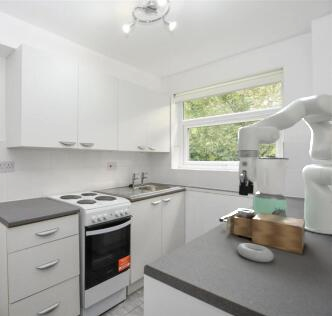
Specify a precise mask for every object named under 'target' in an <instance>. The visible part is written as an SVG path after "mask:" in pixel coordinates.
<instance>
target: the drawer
mask: <svg viewBox="0 0 332 316" xmlns="http://www.w3.org/2000/svg"><path fill="white" fill-rule="evenodd" d="M255 216H256V215H255ZM218 221H219V222H220V223H223V222H224V223H226V234H227V235H230V234H233V235H236V236H240V237H241V236H242V237H244V238H250V239H252V220H250V219H245V218H239V217H238V210H235V211H233V212H231V213H229V214H227V215H224V216H222V217H221V218H218Z"/></svg>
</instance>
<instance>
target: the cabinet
mask: <svg viewBox="0 0 332 316" xmlns="http://www.w3.org/2000/svg"><path fill="white" fill-rule="evenodd" d="M305 234H306V230H305V220H304V218H303V219H302V218H297V217H290V216H287V217H285V216H279V215H272V214H266V213H259V214H257V215H256V216H255V217H254V218H252V238H251V243H253V244H257V245H261V246H266V247H271V248H275V249H279V250H283V251H287V252H291V253H295V254H299V255H302V254H303V250H304V246H305V237H306V235H305Z"/></svg>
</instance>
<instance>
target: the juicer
mask: <svg viewBox="0 0 332 316" xmlns="http://www.w3.org/2000/svg"><path fill="white" fill-rule="evenodd" d="M289 159H290V158H288V157H280V156H279V157H278V156H275V155H270V156H269V155H266V156H261V157H258V159H256V168H257V180H256V181H255V183H256V186H257V192H255V193H254V194H253V196H252V210H253V211H255V215H257V214H259V213H266V214H272V215H279V216H285V217H288V215H287V214H288V211H287V209H288V201H287V198H286V196H285V195H284V194H282V192H283V188H284V183H285V178H286V174H287V171H288V166H289Z"/></svg>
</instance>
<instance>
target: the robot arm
mask: <svg viewBox="0 0 332 316" xmlns="http://www.w3.org/2000/svg"><path fill="white" fill-rule="evenodd" d="M302 120H303V121H304V122H305V124H307V126H308V127H309V129H310V131H311V139H310V145H309V146H310V147H309V158H310V159H311V160H312V161H315V162H322V163H312V164H308V165H306V166H304V168H303V169H302V179H303V184H304V185H303V186H304V202H303V203H304V206H303V209H304V210H303V220H305V231H308V232H312V233H318V234H323V235H332V189H331V188H330V187H329V186H332V164H329V163H332V123H331V122H332V94H328V93H327V94H326V93H318V94H314V95H309V96H304V97H300V98H297V99H294V100H293V101H291V102H290V103H289V104H287V105H286V106H285V107H283V108H282V109H280V110H279V111H277V112H276V113H274V114H270V115H269V116H266V117H264V118H263V119H260V120H258V121H256V122H254V123H253V124H251V125H246V126H241V127H239V128H238V131H237V153H236V154H237V157H236V158H237V159H239V162H238V163H239V164H238V180H239V183H238V195H239V196H244V197H248V196H249V194H251V195H254V187H255V186H254V184H255V183H254V182H256V180H257V168H256V159H258V158H259V149H260V145H270V144H274V143H276V142H278V141H279V139H280V137H281V132H280V131H284V130H287V129H289V128H292V127H293V126H295V125H296V124H297V123H299V122H300V121H302ZM323 162H325V163H323Z"/></svg>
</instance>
